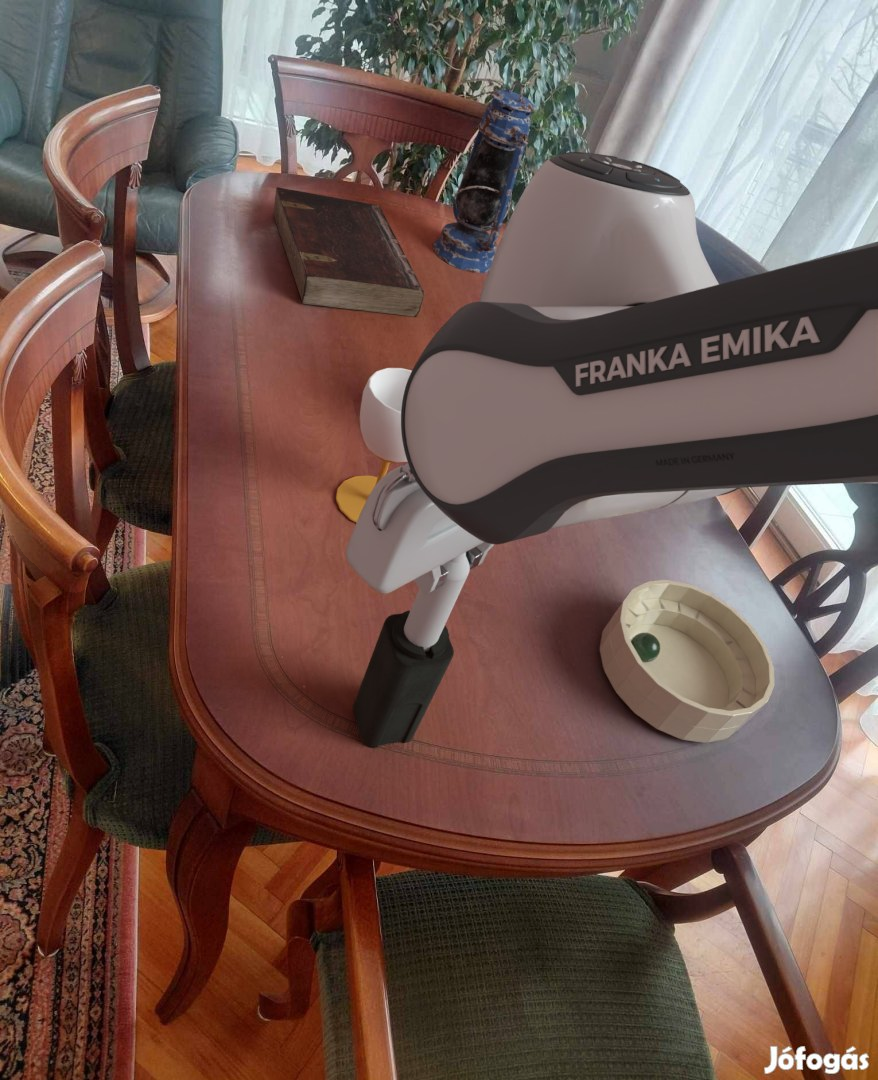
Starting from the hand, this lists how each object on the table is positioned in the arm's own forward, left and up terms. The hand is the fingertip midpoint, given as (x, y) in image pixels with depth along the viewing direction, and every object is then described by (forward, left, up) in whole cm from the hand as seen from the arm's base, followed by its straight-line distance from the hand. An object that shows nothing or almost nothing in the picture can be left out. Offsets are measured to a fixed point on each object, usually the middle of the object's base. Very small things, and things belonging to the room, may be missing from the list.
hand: (447, 572), depth 57 cm
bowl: (+20, -27, -21) cm, 39 cm away
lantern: (+101, +20, -21) cm, 105 cm away
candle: (0, 0, -21) cm, 21 cm away
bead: (+20, -23, -18) cm, 35 cm away
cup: (+27, +11, -21) cm, 36 cm away
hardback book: (+79, +36, -21) cm, 89 cm away
